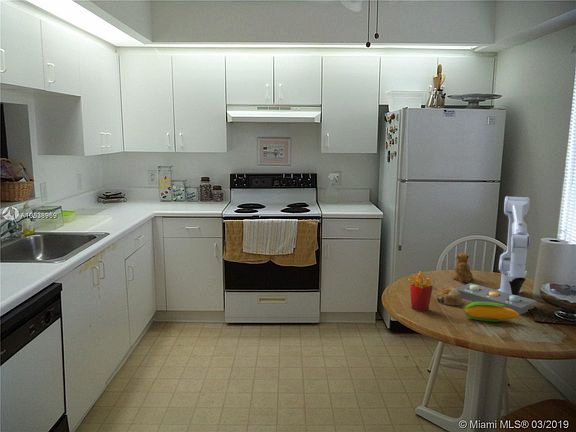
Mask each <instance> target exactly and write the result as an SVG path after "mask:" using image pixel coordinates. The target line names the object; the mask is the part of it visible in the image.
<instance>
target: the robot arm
mask: <svg viewBox="0 0 576 432" xmlns="http://www.w3.org/2000/svg"><path fill="white" fill-rule="evenodd" d="M530 202H531V200H530V197H528V196H526V197H524V196H523V197H522V196H521V197H520V196H508V195H506V196H505V197H504V204H503V212H504V213H503V214H504V215H505V216H507V218H508V229H507V231H508V232H507V244H506V246H507V247H506V251H504V252H503V253H501V254H500V255H499V262H498V271H499V272H501V276H500V277H501V278H500V287H499V288H498V289H497V290H498V291H502V292H506V293H510V294H513V295H517V296H519V294H520V293H522V292H523V290H522V286H523V284H524V283H525V281H526V278H525V277H526V276H527V275H528V270H526V268H527V267H526V265H527V257H528V249H529V247H530V243H531V242H530V241H531V239H530V235H529V233H528V226H527V223H526V222H525V221H524V217H525V216H526V215H527V214H528V211H529V210H530V205H531V204H530Z"/></svg>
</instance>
